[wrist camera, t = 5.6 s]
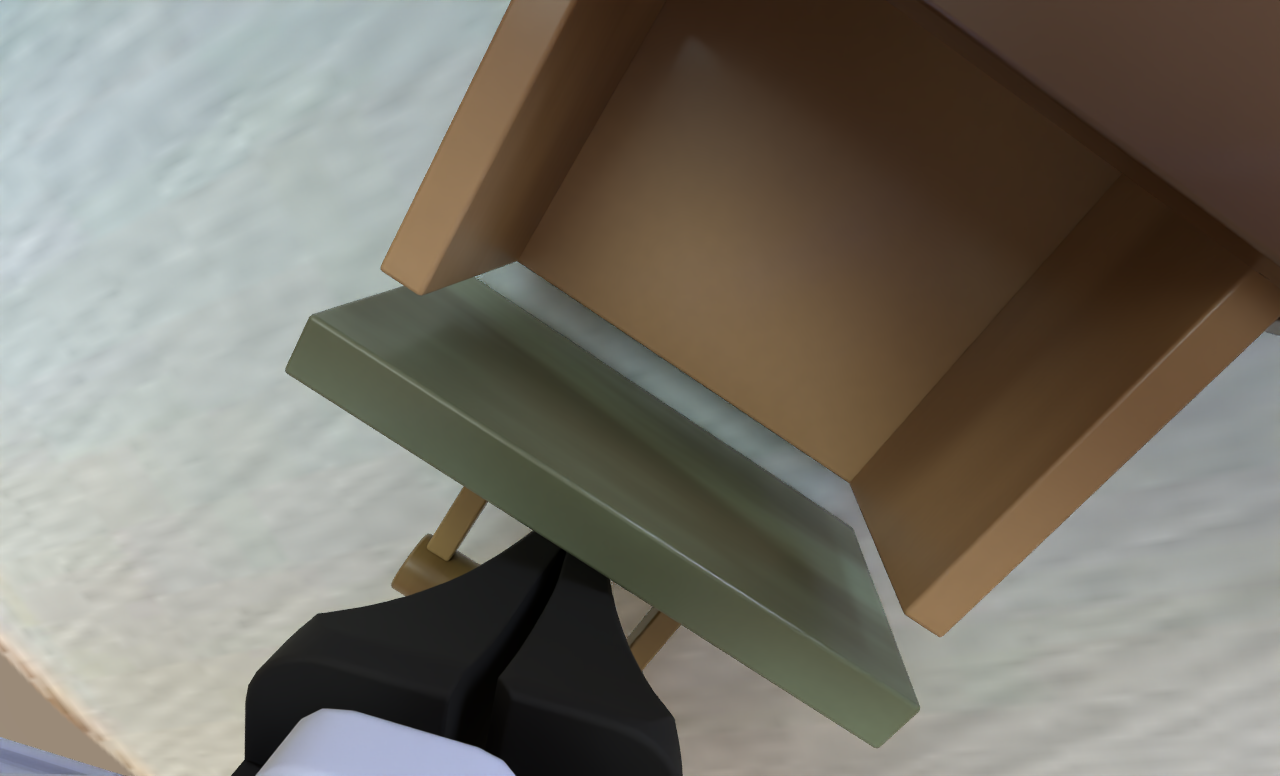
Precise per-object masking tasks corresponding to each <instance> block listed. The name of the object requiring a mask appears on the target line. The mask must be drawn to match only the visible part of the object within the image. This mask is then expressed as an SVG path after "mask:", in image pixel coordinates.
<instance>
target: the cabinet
mask: <svg viewBox="0 0 1280 776" xmlns="http://www.w3.org/2000/svg"><path fill="white" fill-rule="evenodd" d="M886 1H887V2H889V3H890V4H891V5H893V6H894V7H896V8H897V9H898V10H900V11H901V12H902V13H904V14H905V15H906V16H908V17H909V18H911V19H912V20H913V21H915V22H916V23H917V24H919V25H920V26H922V27H923V28H924V29H926V30H927V31H928V32H930V33H931V34H932V35H934V36H935V37H937V38H938V39H939V40H941V41H942V42H943V43H945V44H946V45H947V46H949V47H950V48H952V49H953V50H954V51H956V52H957V53H958V54H960V55H961V56H963V57H964V58H965V59H967V60H968V61H969V62H971V63H972V64H973V65H975V66H976V67H978V68H979V69H980V70H982V71H983V72H984V73H986V74H987V75H988V76H990V77H991V78H993V79H994V80H995V81H997V82H998V83H999V84H1001V85H1002V86H1004V87H1005V88H1006V89H1008V90H1009V91H1010V92H1012V93H1013V94H1014V95H1016V96H1017V97H1019V98H1020V99H1021V100H1023V101H1024V102H1025V103H1027V104H1028V105H1029V106H1031V107H1032V108H1034V109H1035V110H1036V111H1038V112H1039V113H1040V114H1042V115H1043V116H1045V117H1046V118H1047V119H1049V120H1050V121H1051V122H1053V123H1054V124H1055V125H1057V126H1058V127H1060V128H1061V129H1062V130H1064V131H1065V132H1066V133H1068V134H1069V135H1070V136H1072V137H1073V138H1075V139H1076V140H1077V141H1079V142H1080V143H1081V144H1083V145H1084V146H1085V147H1087V148H1088V149H1090V150H1091V151H1092V152H1094V153H1095V154H1096V155H1098V156H1099V157H1101V158H1102V159H1103V160H1105V161H1106V162H1107V163H1109V164H1110V165H1111V166H1113V167H1114V168H1116V169H1117V170H1118V171H1120V172H1121V173H1122V174H1124V175H1125V176H1126V177H1128V178H1129V179H1131V180H1132V181H1133V182H1135V183H1136V184H1137V185H1139V186H1140V187H1142V188H1143V189H1144V190H1146V191H1147V192H1148V193H1150V194H1151V195H1152V196H1154V197H1155V198H1157V199H1158V200H1159V201H1161V202H1162V203H1163V204H1165V205H1166V206H1167V207H1169V208H1170V209H1172V210H1173V211H1174V212H1176V213H1177V214H1178V215H1180V216H1181V217H1183V218H1184V219H1185V220H1187V221H1188V222H1189V223H1191V224H1192V225H1193V226H1195V227H1196V228H1198V229H1199V230H1200V231H1202V232H1203V233H1204V234H1206V235H1207V236H1208V237H1210V238H1211V239H1213V240H1214V241H1215V242H1217V243H1218V244H1219V245H1221V246H1222V247H1224V248H1225V249H1226V250H1228V251H1229V252H1230V253H1232V254H1233V255H1234V256H1236V257H1237V258H1239V259H1240V260H1241V261H1243V262H1244V263H1245V264H1247V265H1248V266H1249V267H1251V268H1252V269H1254V270H1255V271H1256V272H1258V273H1259V274H1260V275H1262V276H1263V277H1265V278H1266V279H1267V280H1269V281H1270V282H1271V283H1273V284H1274V285H1275V286H1277V287H1278V288H1280V0H886ZM1264 332H1267V333H1271V334H1275V335H1278V336H1280V317H1279V318H1278V319H1277V320H1276V321H1275V322H1274V323H1273V324H1271V325H1270V326H1269V327H1268V328H1267V329H1266V330H1265V331H1264Z"/></svg>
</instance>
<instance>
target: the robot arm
mask: <svg viewBox="0 0 1280 776" xmlns="http://www.w3.org/2000/svg"><path fill="white" fill-rule="evenodd" d="M0 776H124V775H121V774H118V773H114V772H111V771H108V770H105V769H102V768H99V767H95V766H92V765H89V764H85V763H82V762H79V761H76V760H73V759H70V758H66V757H63V756H60V755H57V754H53V753H50V752H47V751H43V750H40V749H37V748H34V747H31V746H28V745H24V744H21V743H18V742H15V741H11V740H8V739H5V738H2V737H0ZM231 776H683V773H682V761H681V752H680V746H679V739H678V734H677V729H676V724H675V719H674V717H673V716H672V714H671V713H670V712H669V710H668V709H667V708H666V707H665V705H664V704H663V703H662V701H661V700H660V699H659V698H658V696H657V695H656V694H655V693H654V691H653V690H652V688H651V687H650V685H649V683H648V682H647V680H646V679H645V677H644V675H643V673H642V671H641V669H640V667H639V665H638V663H637V661H636V660H635V658H634V656H633V654H632V652H631V650H630V647H629V645H628V642H627V640H626V637H625V635H624V632H623V629H622V627H621V624H620V621H619V618H618V614H617V611H616V607H615V603H614V599H613V594H612V589H611V584H610V579H609V578H607V577H606V576H604V575H602V574H601V573H599V572H598V571H596V570H595V569H593V568H591V567H590V566H588V565H587V564H585V563H584V562H582V561H580V560H579V559H577V558H576V557H574V556H573V555H571V554H570V553H568V552H566V551H565V550H563V549H562V548H560V547H559V546H557V545H555V544H554V543H552V542H551V541H549V540H548V539H546V538H544V537H543V536H541V535H540V534H538V533H537V532H535V531H532V532H531V533H529V534H528V535H526V536H525V537H524V538H522V539H521V540H519V541H518V542H517V543H515V544H514V545H512V546H511V547H509V548H508V549H506V550H505V551H503V552H502V553H500V554H499V555H497V556H495V557H494V558H492V559H490V560H488V561H487V562H485V563H483V564H482V565H480V566H478V567H477V568H475V569H473V570H471V571H469V572H467V573H465V574H463V575H461V576H459V577H457V578H454V579H452V580H450V581H448V582H445V583H443V584H440V585H437V586H434V587H432V588H429V589H426V590H423V591H420V592H417V593H415V594H412V595H409V596H405V597H402V598H398V599H394V600H391V601H387V602H382V603H378V604H374V605H369V606H364V607H359V608H353V609H347V610H340V611H334V612H328V613H319V614H317V615H315V616H314V617H313V618H312V619H311V620H310V621H308V622H307V623H306V624H305V625H304V626H302V627H301V628H300V629H299V630H298V631H297V632H296V633H294V634H293V635H292V636H291V637H290V638H289V639H288V640H287V641H286V642H285V643H284V644H283V645H282V646H281V647H280V648H279V649H278V650H277V651H276V652H275V653H274V654H273V655H272V656H271V657H270V658H269V660H268V661H267V662H266V663H265V664H264V665H263V666H262V667H261V668H260V669H259V670H258V671H257V672H256V674H255V675H254V677H253V679H252V680H251V682H250V684H249V685H248V690H247V696H246V703H245V760H244V761H243V762H242V763H241V765H240V766H239V767H238V768H237V769H236V771H235V772H234V773H233V774H232V775H231Z"/></svg>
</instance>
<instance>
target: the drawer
mask: <svg viewBox="0 0 1280 776" xmlns="http://www.w3.org/2000/svg"><path fill="white" fill-rule="evenodd" d="M516 261H518V262H519V263H521V264H522V265H524V266H525V267H527V268H528V269H530V270H531V271H533V272H534V273H536V274H537V275H538V276H540V277H541V278H543V279H544V280H546V281H547V282H549V283H550V284H552V285H553V286H555V287H556V288H558V289H559V290H561V291H562V292H564V293H565V294H567V295H568V296H570V297H571V298H573V299H574V300H576V301H577V302H579V303H580V304H582V305H583V306H585V307H586V308H588V309H589V310H591V311H592V312H594V313H595V314H597V315H598V316H600V317H601V318H603V319H604V320H606V321H607V322H609V323H610V324H612V325H613V326H615V327H616V328H618V329H619V330H621V331H622V332H624V333H625V334H627V335H628V336H630V337H631V338H633V339H634V340H636V341H637V342H639V343H640V344H642V345H643V346H645V347H646V348H648V349H649V350H651V351H652V352H654V353H655V354H657V355H658V356H660V357H661V358H663V359H664V360H666V361H667V362H669V363H670V364H672V365H673V366H675V367H676V368H678V369H679V370H681V371H682V372H684V373H685V374H687V375H688V376H690V377H691V378H693V379H694V380H696V381H697V382H699V383H700V384H702V385H703V386H705V387H706V388H708V389H709V390H711V391H712V392H714V393H715V394H717V395H718V396H720V397H721V398H723V399H724V400H726V401H727V402H729V403H730V404H732V405H733V406H735V407H736V408H738V409H739V410H741V411H742V412H744V413H745V414H747V415H748V416H750V417H751V418H753V419H754V420H756V421H757V422H758V423H760V424H761V425H763V426H764V427H766V428H767V429H769V430H770V431H772V432H773V433H775V434H776V435H778V436H779V437H781V438H782V439H784V440H785V441H787V442H788V443H790V444H791V445H793V446H794V447H796V448H797V449H799V450H800V451H802V452H803V453H805V454H806V455H808V456H809V457H811V458H812V459H814V460H815V461H817V462H818V463H820V464H821V465H823V466H824V467H826V468H827V469H829V470H830V471H832V472H833V473H835V474H836V475H838V476H839V477H841V478H842V479H844V480H845V481H847V482H848V483H850V486H851V489H852V491H853V493H854V496H855V498H856V501H857V503H858V505H859V508H860V510H861V512H862V515H863V517H864V520H865V522H866V524H867V527H868V529H869V532H870V534H871V536H872V539H873V541H874V543H875V546H876V548H877V551H878V553H879V555H880V558H881V560H882V562H883V565H884V567H885V570H886V572H887V574H888V577H889V579H890V581H891V584H892V586H893V589H894V591H895V593H896V596H897V598H898V600H899V603H900V605H901V608H902V610H903V612H904V614H905V615H906V616H908V617H909V618H911V619H912V620H914V621H915V622H917V623H918V624H920V625H921V626H923V627H924V628H926V629H927V630H929V631H930V632H932V633H934V634H935V635H937V636H938V637H942V636H944V635H945V634H946V633H947V632H948V631H949V630H950V629H951V628H952V627H953V626H954V625H955V624H956V623H957V622H958V621H960V620H961V619H962V618H963V617H964V616H965V615H966V614H967V613H968V612H969V611H970V610H971V609H972V608H973V607H974V606H975V605H976V604H977V603H979V602H980V601H981V600H982V599H983V598H984V597H985V596H986V595H987V594H988V593H989V592H990V591H991V590H992V589H993V588H994V587H995V586H996V585H997V584H999V583H1000V582H1001V581H1002V580H1003V579H1004V578H1005V577H1006V576H1007V575H1008V574H1009V573H1010V572H1011V571H1012V570H1013V569H1014V568H1015V567H1016V566H1018V565H1019V564H1020V563H1021V562H1022V561H1023V560H1024V559H1025V558H1026V557H1027V556H1028V555H1029V554H1030V553H1031V552H1032V551H1033V550H1034V549H1035V548H1036V547H1038V546H1039V545H1040V544H1041V543H1042V542H1043V541H1044V540H1045V539H1046V538H1047V537H1048V536H1049V535H1050V534H1051V533H1052V532H1053V531H1054V530H1055V529H1057V528H1058V527H1059V526H1060V525H1061V524H1062V523H1063V522H1064V521H1065V520H1066V519H1067V518H1068V517H1069V516H1070V515H1071V514H1072V513H1073V512H1074V511H1075V510H1077V509H1078V508H1079V507H1080V506H1081V505H1082V504H1083V503H1084V502H1085V501H1086V500H1087V499H1088V498H1089V497H1090V496H1091V495H1092V494H1093V493H1094V492H1095V491H1097V490H1098V489H1099V488H1100V487H1101V486H1102V485H1103V484H1104V483H1105V482H1106V481H1107V480H1108V479H1109V478H1110V477H1111V476H1112V475H1113V474H1114V473H1116V472H1117V471H1118V470H1119V469H1120V468H1121V467H1122V466H1123V465H1124V464H1125V463H1126V462H1127V461H1128V460H1129V459H1130V458H1131V457H1132V456H1133V455H1134V454H1136V453H1137V452H1138V451H1139V450H1140V449H1141V448H1142V447H1143V446H1144V445H1145V444H1146V443H1147V442H1148V441H1149V440H1150V439H1151V438H1152V437H1153V436H1155V435H1156V434H1157V433H1158V432H1159V431H1160V430H1161V429H1162V428H1163V427H1164V426H1165V425H1166V424H1167V423H1168V422H1169V421H1170V420H1171V419H1172V418H1173V417H1175V416H1176V415H1177V414H1178V413H1179V412H1180V411H1181V410H1182V409H1183V408H1184V407H1185V406H1186V405H1187V404H1188V403H1189V402H1190V401H1191V400H1192V399H1194V398H1195V397H1196V396H1197V395H1198V394H1199V393H1200V392H1201V391H1202V390H1203V389H1204V388H1205V387H1206V386H1207V385H1208V384H1209V383H1210V382H1211V381H1212V380H1214V379H1215V378H1216V377H1217V376H1218V375H1219V374H1220V373H1221V372H1222V371H1223V370H1224V369H1225V368H1226V367H1227V366H1228V365H1229V364H1230V363H1231V362H1232V361H1234V360H1235V359H1236V358H1237V357H1238V356H1239V355H1240V354H1241V353H1242V352H1243V351H1244V350H1245V349H1246V348H1247V347H1248V346H1249V345H1250V344H1251V343H1253V342H1254V341H1255V340H1256V339H1257V338H1258V337H1259V336H1260V335H1261V334H1262V333H1263V332H1264V331H1265V330H1266V329H1267V328H1268V327H1269V326H1270V325H1271V324H1273V323H1274V322H1275V321H1276V320H1277V319H1278V318H1279V317H1280V288H1278V287H1277V286H1275V285H1274V284H1273V283H1271V282H1270V281H1269V280H1267V279H1266V278H1265V277H1263V276H1262V275H1260V274H1259V273H1258V272H1256V271H1255V270H1254V269H1252V268H1251V267H1249V266H1248V265H1247V264H1245V263H1244V262H1243V261H1241V260H1240V259H1239V258H1237V257H1236V256H1234V255H1233V254H1232V253H1230V252H1229V251H1228V250H1226V249H1225V248H1224V247H1222V246H1221V245H1219V244H1218V243H1217V242H1215V241H1214V240H1213V239H1211V238H1210V237H1208V236H1207V235H1206V234H1204V233H1203V232H1202V231H1200V230H1199V229H1198V228H1196V227H1195V226H1193V225H1192V224H1191V223H1189V222H1188V221H1187V220H1185V219H1184V218H1183V217H1181V216H1180V215H1178V214H1177V213H1176V212H1174V211H1173V210H1172V209H1170V208H1169V207H1167V206H1166V205H1165V204H1163V203H1162V202H1161V201H1159V200H1158V199H1157V198H1155V197H1154V196H1152V195H1151V194H1150V193H1148V192H1147V191H1146V190H1144V189H1143V188H1142V187H1140V186H1139V185H1137V184H1136V183H1135V182H1133V181H1132V180H1131V179H1129V178H1128V177H1126V176H1125V175H1124V174H1122V173H1121V172H1120V171H1118V170H1117V169H1116V168H1114V167H1113V166H1111V165H1110V164H1109V163H1107V162H1106V161H1105V160H1103V159H1102V158H1101V157H1099V156H1098V155H1096V154H1095V153H1094V152H1092V151H1091V150H1090V149H1088V148H1087V147H1085V146H1084V145H1083V144H1081V143H1080V142H1079V141H1077V140H1076V139H1075V138H1073V137H1072V136H1070V135H1069V134H1068V133H1066V132H1065V131H1064V130H1062V129H1061V128H1060V127H1058V126H1057V125H1055V124H1054V123H1053V122H1051V121H1050V120H1049V119H1047V118H1046V117H1045V116H1043V115H1042V114H1040V113H1039V112H1038V111H1036V110H1035V109H1034V108H1032V107H1031V106H1029V105H1028V104H1027V103H1025V102H1024V101H1023V100H1021V99H1020V98H1019V97H1017V96H1016V95H1014V94H1013V93H1012V92H1010V91H1009V90H1008V89H1006V88H1005V87H1004V86H1002V85H1001V84H999V83H998V82H997V81H995V80H994V79H993V78H991V77H990V76H988V75H987V74H986V73H984V72H983V71H982V70H980V69H979V68H978V67H976V66H975V65H973V64H972V63H971V62H969V61H968V60H967V59H965V58H964V57H963V56H961V55H960V54H958V53H957V52H956V51H954V50H953V49H952V48H950V47H949V46H947V45H946V44H945V43H943V42H942V41H941V40H939V39H938V38H937V37H935V36H934V35H932V34H931V33H930V32H928V31H927V30H926V29H924V28H923V27H922V26H920V25H919V24H917V23H916V22H915V21H913V20H912V19H911V18H909V17H908V16H906V15H905V14H904V13H902V12H901V11H900V10H898V9H897V8H896V7H894V6H893V5H891V4H890V3H889V2H887V1H886V0H511V2H510V4H509V6H508V8H507V10H506V12H505V14H504V16H503V18H502V20H501V22H500V24H499V26H498V28H497V30H496V32H495V35H494V37H493V39H492V41H491V43H490V45H489V47H488V49H487V51H486V53H485V55H484V57H483V59H482V61H481V63H480V65H479V67H478V69H477V71H476V73H475V75H474V77H473V79H472V81H471V83H470V85H469V87H468V89H467V92H466V94H465V96H464V98H463V100H462V102H461V104H460V106H459V108H458V110H457V112H456V114H455V116H454V118H453V120H452V122H451V124H450V126H449V128H448V130H447V132H446V134H445V136H444V138H443V140H442V142H441V144H440V146H439V149H438V151H437V153H436V155H435V157H434V159H433V161H432V163H431V165H430V167H429V169H428V171H427V173H426V175H425V177H424V179H423V181H422V183H421V185H420V187H419V189H418V191H417V193H416V195H415V197H414V199H413V201H412V203H411V206H410V208H409V210H408V212H407V214H406V216H405V218H404V220H403V222H402V224H401V226H400V228H399V230H398V232H397V234H396V236H395V238H394V240H393V242H392V244H391V246H390V248H389V250H388V252H387V254H386V256H385V258H384V260H383V263H382V265H381V268H380V269H381V270H382V272H384V273H386V274H387V275H389V276H390V277H392V278H393V279H395V280H396V281H398V282H399V283H401V284H402V285H404V286H402V287H398V288H395V289H392V290H389V291H386V292H382V293H379V294H376V295H373V296H369V297H366V298H363V299H360V300H357V301H353V302H350V303H347V304H344V305H341V306H337V307H334V308H331V309H328V310H325V311H321V312H318V313H315V314H312V315H311V316H310V317H309V319H308V321H307V323H306V325H305V327H304V329H303V331H302V334H301V336H300V338H299V340H298V342H297V344H296V347H295V349H294V351H293V353H292V355H291V357H290V360H289V362H288V364H287V366H286V368H285V371H286V373H287V374H289V375H290V376H292V377H293V378H295V379H296V380H298V381H300V382H301V383H303V384H304V385H306V386H307V387H309V388H311V389H312V390H314V391H315V392H317V393H318V394H320V395H322V396H323V397H325V398H326V399H328V400H329V401H331V402H333V403H334V404H336V405H337V406H339V407H340V408H342V409H343V410H345V411H347V412H348V413H350V414H351V415H353V416H354V417H356V418H358V419H359V420H361V421H362V422H364V423H365V424H367V425H369V426H370V427H372V428H373V429H375V430H376V431H378V432H380V433H381V434H383V435H384V436H386V437H387V438H389V439H391V440H392V441H394V442H395V443H397V444H398V445H400V446H402V447H403V448H405V449H406V450H408V451H409V452H411V453H413V454H414V455H416V456H417V457H419V458H420V459H422V460H424V461H425V462H427V463H428V464H430V465H431V466H433V467H435V468H436V469H438V470H439V471H441V472H442V473H444V474H446V475H447V476H449V477H450V478H452V479H453V480H455V481H457V482H458V483H460V484H461V485H463V486H464V487H463V488H462V490H461V491H460V493H459V495H458V496H457V498H456V499H455V501H454V503H453V504H452V506H451V507H450V509H449V511H448V512H447V514H446V516H445V517H444V519H443V520H442V522H441V524H440V525H439V527H438V528H437V530H436V532H435V533H434V535H432V534H427V535H425V536H424V537H423V538H422V539H421V540H420V542H419V543H418V544H417V545H416V547H415V548H414V549H413V551H412V552H411V553H410V555H409V556H408V557H407V559H406V560H405V562H404V563H403V565H402V566H401V568H400V569H399V571H398V572H397V574H396V576H395V577H394V579H393V581H392V584H391V586H392V588H393V589H395V590H396V591H398V592H400V593H401V594H403V595H404V596H409V595H412V594H415V593H417V592H420V591H423V590H426V589H429V588H432V587H434V586H437V585H440V584H443V583H445V582H448V581H450V580H452V579H454V578H457V577H459V576H461V575H463V574H465V573H467V572H469V571H471V570H473V569H475V568H477V567H478V566H480V565H479V564H478V563H476V562H475V561H473V560H471V559H470V558H468V557H467V556H465V555H464V554H462V553H460V552H459V551H457V549H458V548H459V546H460V545H461V543H462V542H463V540H464V539H465V537H466V536H467V534H468V532H469V531H470V529H471V528H472V526H473V525H474V523H475V522H476V520H477V519H478V517H479V515H480V514H481V512H482V511H483V509H484V508H485V506H486V505H487V503H488V502H489V503H491V504H493V505H494V506H496V507H497V508H499V509H500V510H502V511H504V512H505V513H507V514H508V515H510V516H511V517H513V518H515V519H516V520H518V521H519V522H521V523H522V524H524V525H526V526H527V527H529V528H530V529H532V530H533V531H535V532H537V533H538V534H540V535H541V536H543V537H544V538H546V539H548V540H549V541H551V542H552V543H554V544H555V545H557V546H559V547H560V548H562V549H563V550H565V551H566V552H568V553H570V554H571V555H573V556H574V557H576V558H577V559H579V560H580V561H582V562H584V563H585V564H587V565H588V566H590V567H591V568H593V569H595V570H596V571H598V572H599V573H601V574H602V575H604V576H606V577H607V578H609V579H610V580H612V581H613V582H615V583H617V584H618V585H620V586H621V587H623V588H624V589H626V590H628V591H629V592H631V593H632V594H634V595H635V596H637V597H639V598H640V599H642V600H643V601H645V602H646V603H648V604H650V605H651V606H653V607H652V608H651V610H650V611H649V612H648V613H647V614H646V616H645V617H644V618H643V619H642V621H641V622H640V623H639V624H638V626H637V627H636V628H635V629H634V630H633V632H632V633H631V634H630V635H629V637H628V638H627V639H626V640H627V642H628V645H629V647H630V650H631V652H632V654H633V656H634V658H635V660H636V661H637V663H638V665H639V667H640V669H641V671H642V673H643V669H644V668H645V667H646V665H647V664H648V663H649V662H650V661H651V660H652V658H653V657H654V656H655V655H656V654H657V652H658V651H659V650H660V649H661V648H662V647H663V645H664V644H665V643H666V642H667V641H668V639H669V638H670V637H671V636H672V635H673V634H674V632H675V631H676V630H677V629H678V628H679V627H680V625H683V626H684V627H686V628H687V629H689V630H690V631H692V632H693V633H695V634H697V635H698V636H700V637H701V638H703V639H704V640H706V641H708V642H709V643H711V644H712V645H714V646H715V647H717V648H719V649H720V650H722V651H723V652H725V653H726V654H728V655H730V656H731V657H733V658H734V659H736V660H737V661H739V662H741V663H742V664H744V665H745V666H747V667H748V668H750V669H752V670H753V671H755V672H756V673H758V674H759V675H761V676H763V677H764V678H766V679H767V680H769V681H770V682H772V683H774V684H775V685H777V686H778V687H780V688H781V689H783V690H785V691H786V692H788V693H789V694H791V695H792V696H794V697H796V698H797V699H799V700H800V701H802V702H803V703H805V704H806V705H808V706H810V707H811V708H813V709H814V710H816V711H817V712H819V713H821V714H822V715H824V716H825V717H827V718H828V719H830V720H832V721H833V722H835V723H836V724H838V725H839V726H841V727H843V728H844V729H846V730H847V731H849V732H850V733H852V734H854V735H855V736H857V737H858V738H860V739H861V740H863V741H865V742H866V743H868V744H869V745H871V746H872V747H874V748H879V747H881V746H882V745H883V744H884V743H885V742H886V741H887V740H888V739H889V738H890V737H892V736H893V735H894V734H895V733H896V732H897V731H898V730H899V729H900V728H901V727H903V726H904V725H905V724H906V723H907V722H908V721H909V720H910V719H911V718H912V717H914V716H915V715H916V714H917V713H918V712H919V710H920V705H919V702H918V700H917V697H916V694H915V692H914V689H913V686H912V684H911V681H910V679H909V676H908V673H907V671H906V668H905V665H904V663H903V660H902V657H901V655H900V652H899V649H898V647H897V644H896V641H895V639H894V636H893V633H892V631H891V628H890V625H889V623H888V620H887V617H886V615H885V612H884V609H883V607H882V604H881V601H880V599H879V596H878V593H877V591H876V588H875V586H874V583H873V580H872V578H871V575H870V572H869V570H868V567H867V564H866V562H865V559H864V556H863V554H862V551H861V548H860V546H859V543H858V540H857V538H856V535H855V532H854V530H853V528H852V527H850V526H849V525H847V524H846V523H844V522H843V521H841V520H840V519H838V518H837V517H835V516H834V515H832V514H831V513H829V512H828V511H826V510H825V509H823V508H822V507H820V506H819V505H817V504H816V503H814V502H813V501H811V500H810V499H808V498H807V497H805V496H804V495H802V494H801V493H799V492H798V491H796V490H795V489H793V488H792V487H790V486H789V485H787V484H786V483H784V482H783V481H781V480H779V479H778V478H776V477H775V476H773V475H772V474H770V473H769V472H767V471H766V470H764V469H763V468H761V467H760V466H758V465H757V464H755V463H754V462H752V461H751V460H749V459H748V458H746V457H745V456H743V455H742V454H740V453H739V452H737V451H736V450H734V449H733V448H731V447H730V446H728V445H727V444H725V443H724V442H722V441H721V440H719V439H718V438H716V437H715V436H713V435H712V434H710V433H709V432H707V431H706V430H704V429H703V428H701V427H700V426H698V425H697V424H695V423H693V422H692V421H690V420H689V419H687V418H686V417H684V416H683V415H681V414H680V413H678V412H677V411H675V410H674V409H672V408H671V407H669V406H668V405H666V404H665V403H663V402H662V401H660V400H659V399H657V398H656V397H654V396H653V395H651V394H650V393H648V392H647V391H645V390H644V389H642V388H641V387H639V386H638V385H636V384H635V383H633V382H632V381H630V380H629V379H627V378H626V377H624V376H623V375H621V374H620V373H618V372H617V371H615V370H614V369H612V368H611V367H609V366H608V365H606V364H604V363H603V362H601V361H600V360H598V359H597V358H595V357H594V356H592V355H591V354H589V353H588V352H586V351H585V350H583V349H582V348H580V347H579V346H577V345H576V344H574V343H573V342H571V341H570V340H568V339H567V338H565V337H564V336H562V335H561V334H559V333H558V332H556V331H555V330H553V329H552V328H550V327H549V326H547V325H546V324H544V323H543V322H541V321H540V320H538V319H537V318H535V317H534V316H532V315H531V314H529V313H528V312H526V311H525V310H523V309H522V308H520V307H518V306H517V305H515V304H514V303H512V302H511V301H509V300H508V299H506V298H505V297H503V296H502V295H500V294H499V293H497V292H496V291H494V290H493V289H491V288H490V287H488V286H487V285H485V284H484V283H482V282H481V281H479V280H478V279H476V278H475V276H478V275H480V274H483V273H486V272H489V271H491V270H494V269H497V268H500V267H502V266H505V265H508V264H511V263H513V262H516Z"/></svg>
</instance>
